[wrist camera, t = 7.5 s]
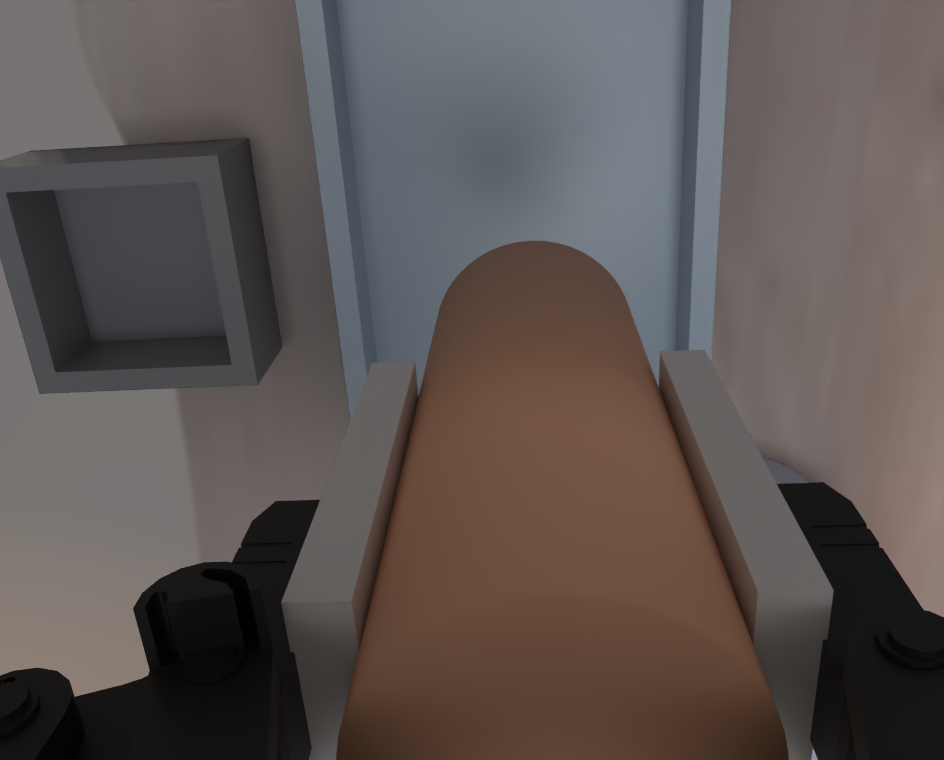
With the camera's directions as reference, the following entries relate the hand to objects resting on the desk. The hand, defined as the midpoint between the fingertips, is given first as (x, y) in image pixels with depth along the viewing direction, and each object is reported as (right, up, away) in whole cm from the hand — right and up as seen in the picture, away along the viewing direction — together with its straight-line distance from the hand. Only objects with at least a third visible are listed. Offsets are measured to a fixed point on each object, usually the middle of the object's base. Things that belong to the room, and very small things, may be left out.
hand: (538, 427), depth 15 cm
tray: (+1, +7, +16) cm, 18 cm away
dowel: (0, +2, +4) cm, 4 cm away
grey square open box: (-13, +6, +17) cm, 22 cm away
